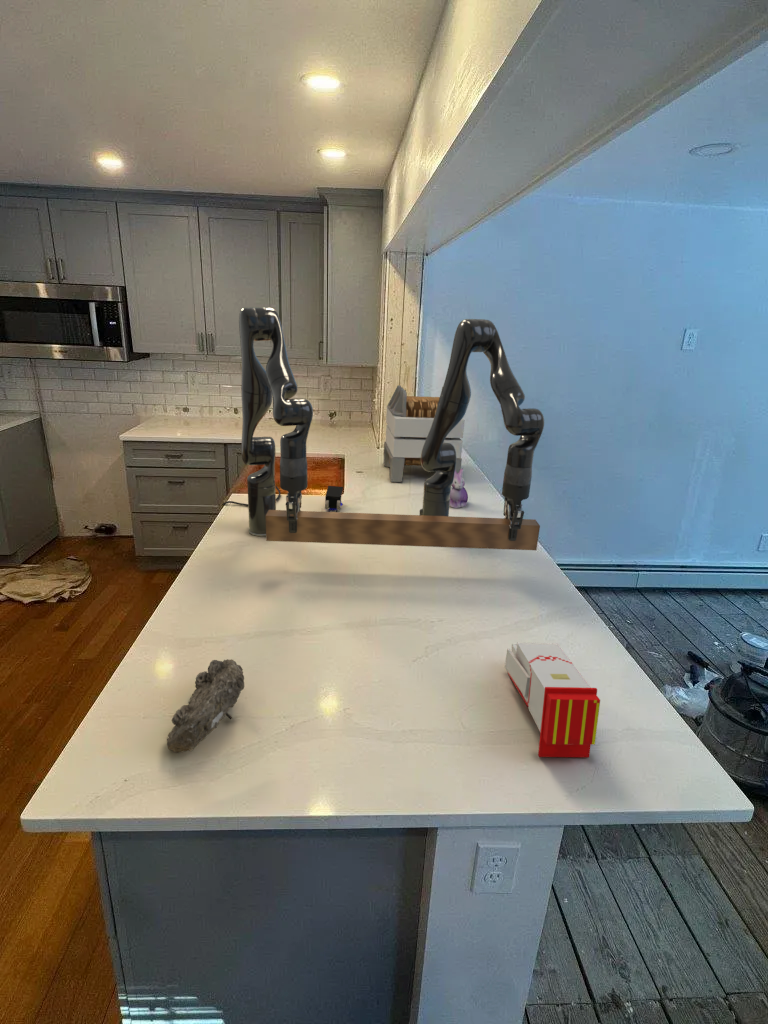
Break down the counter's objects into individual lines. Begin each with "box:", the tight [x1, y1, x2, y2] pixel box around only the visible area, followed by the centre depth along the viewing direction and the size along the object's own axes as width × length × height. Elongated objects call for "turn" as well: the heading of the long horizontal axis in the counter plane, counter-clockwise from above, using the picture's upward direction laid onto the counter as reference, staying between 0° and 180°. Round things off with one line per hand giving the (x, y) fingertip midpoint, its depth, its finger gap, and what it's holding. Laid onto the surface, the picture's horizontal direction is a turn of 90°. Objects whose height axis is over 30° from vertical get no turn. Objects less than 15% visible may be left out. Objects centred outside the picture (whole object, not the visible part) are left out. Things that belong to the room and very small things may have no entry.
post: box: [265, 509, 541, 551], centre depth 163 cm, size 77×5×8 cm, turn 91°
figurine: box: [449, 468, 469, 509], centre depth 230 cm, size 9×10×15 cm
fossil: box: [166, 658, 245, 754], centre depth 106 cm, size 22×10×15 cm
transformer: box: [383, 384, 465, 483], centre depth 268 cm, size 34×33×41 cm
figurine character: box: [324, 485, 344, 512], centre depth 220 cm, size 7×8×15 cm
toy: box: [504, 642, 601, 758], centre depth 113 cm, size 12×13×30 cm
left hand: (294, 528), depth 162 cm, fingers closed on post, 5 cm apart
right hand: (509, 536), depth 164 cm, fingers closed on post, 5 cm apart
